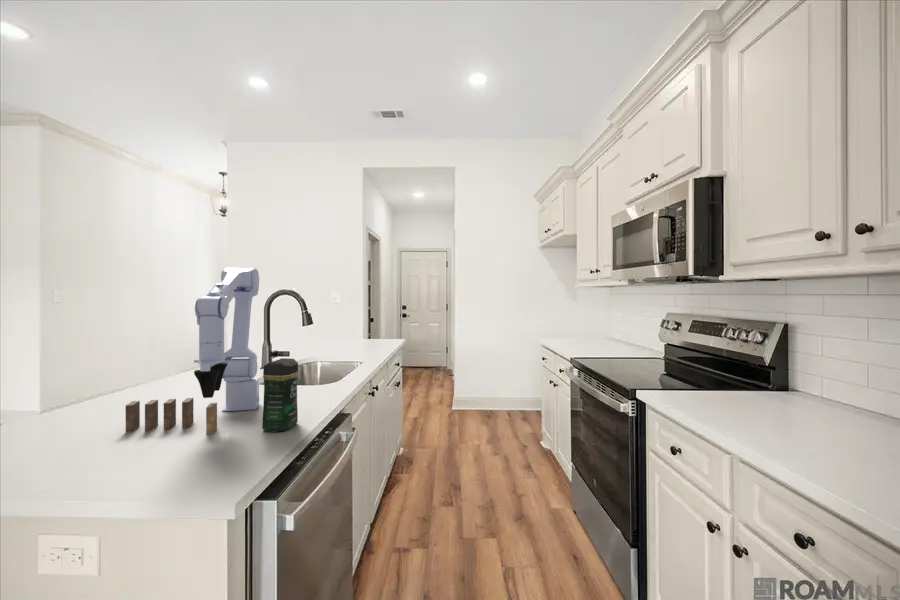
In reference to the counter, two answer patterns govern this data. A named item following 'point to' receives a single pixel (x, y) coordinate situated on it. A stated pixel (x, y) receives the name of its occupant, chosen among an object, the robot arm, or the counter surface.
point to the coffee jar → (280, 395)
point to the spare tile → (211, 418)
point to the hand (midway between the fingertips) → (211, 393)
